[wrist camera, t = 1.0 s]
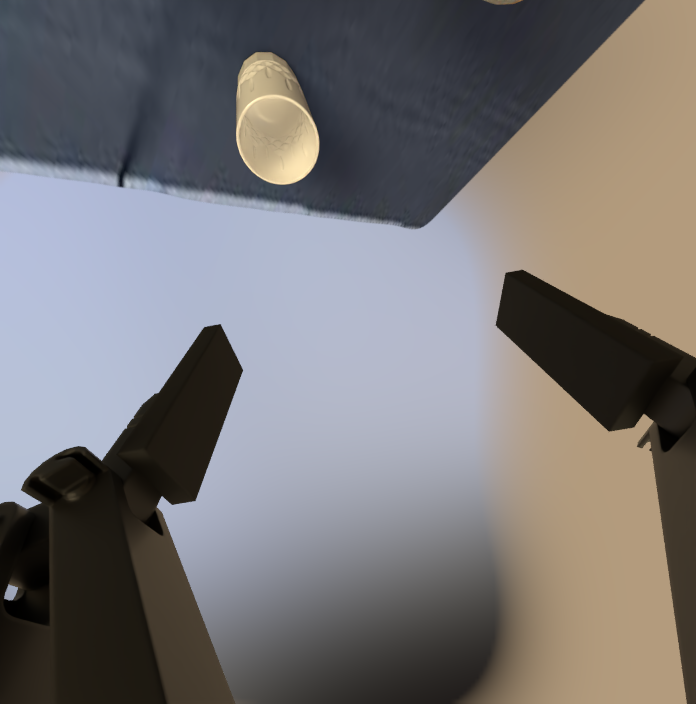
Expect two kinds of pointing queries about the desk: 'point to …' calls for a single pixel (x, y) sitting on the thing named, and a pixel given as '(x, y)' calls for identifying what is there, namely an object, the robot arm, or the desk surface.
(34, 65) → the desk surface
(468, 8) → the desk surface
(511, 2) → the reusable coffee cup
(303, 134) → the white cup
